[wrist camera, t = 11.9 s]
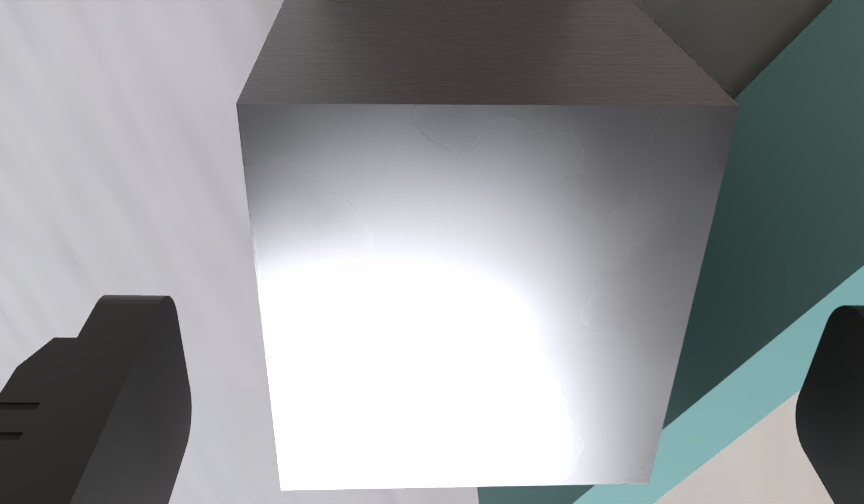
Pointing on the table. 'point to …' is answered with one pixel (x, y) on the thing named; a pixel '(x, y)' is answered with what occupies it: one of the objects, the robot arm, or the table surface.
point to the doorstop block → (475, 237)
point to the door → (763, 258)
